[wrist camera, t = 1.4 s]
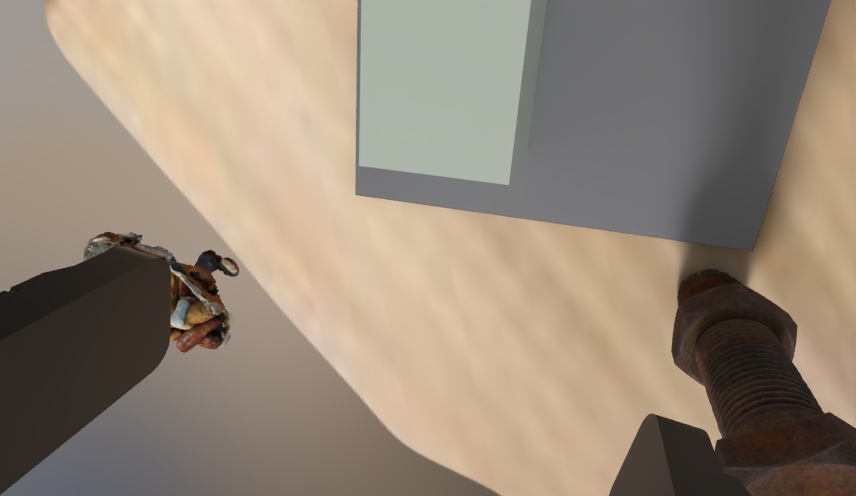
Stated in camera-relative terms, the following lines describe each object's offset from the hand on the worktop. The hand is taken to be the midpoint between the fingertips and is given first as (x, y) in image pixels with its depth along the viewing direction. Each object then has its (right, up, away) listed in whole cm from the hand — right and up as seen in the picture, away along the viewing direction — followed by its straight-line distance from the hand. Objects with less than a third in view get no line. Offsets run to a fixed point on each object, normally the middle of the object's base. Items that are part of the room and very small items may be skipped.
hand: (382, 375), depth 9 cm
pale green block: (+3, +11, +17) cm, 20 cm away
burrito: (-18, 0, +29) cm, 34 cm away
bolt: (+15, 0, +19) cm, 24 cm away
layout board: (+7, +10, +17) cm, 21 cm away
